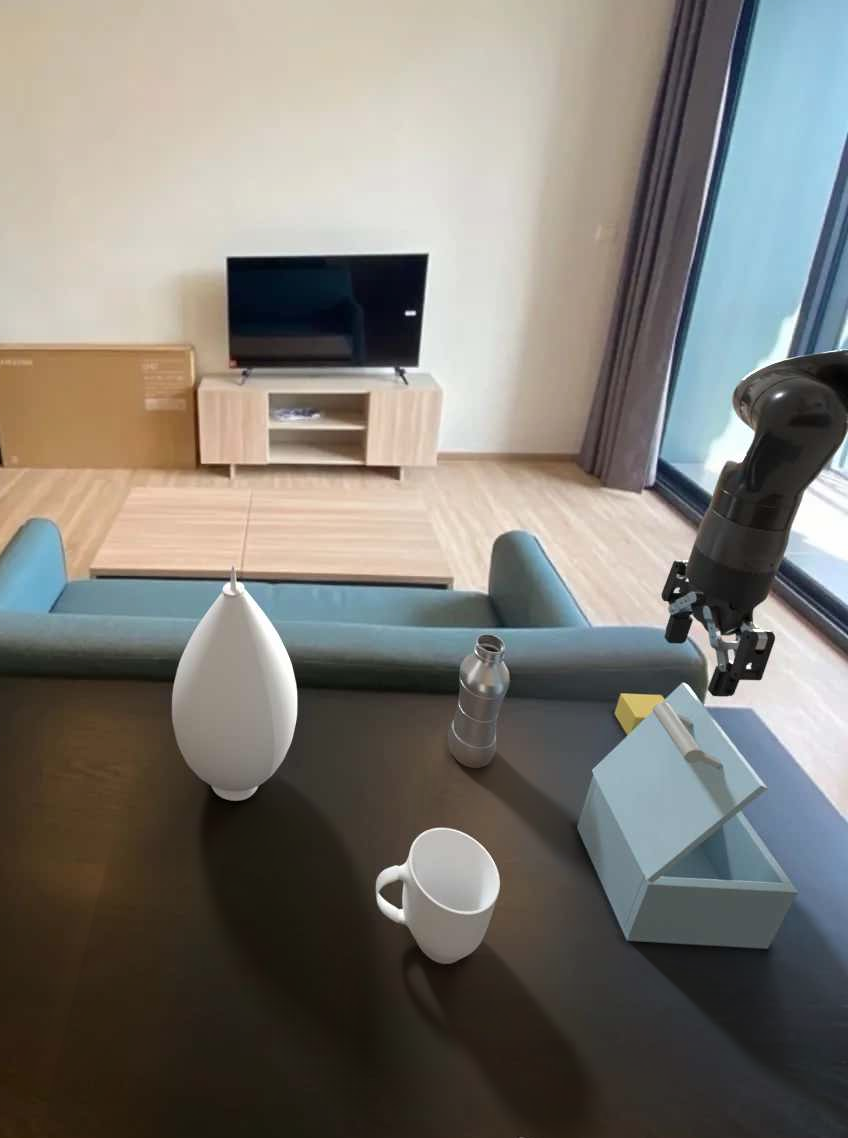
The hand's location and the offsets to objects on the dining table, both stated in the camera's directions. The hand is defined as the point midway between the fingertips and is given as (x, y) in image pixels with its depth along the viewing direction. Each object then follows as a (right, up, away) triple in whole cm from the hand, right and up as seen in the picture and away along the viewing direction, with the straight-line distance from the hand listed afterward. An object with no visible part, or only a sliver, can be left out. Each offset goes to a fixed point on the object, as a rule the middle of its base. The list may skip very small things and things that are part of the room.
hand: (695, 666), depth 76 cm
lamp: (-54, -20, +12) cm, 59 cm away
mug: (-33, -28, -6) cm, 44 cm away
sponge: (+6, -17, +20) cm, 27 cm away
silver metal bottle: (-21, -19, +16) cm, 32 cm away
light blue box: (-4, -25, -1) cm, 26 cm away
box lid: (-7, -10, -7) cm, 14 cm away
